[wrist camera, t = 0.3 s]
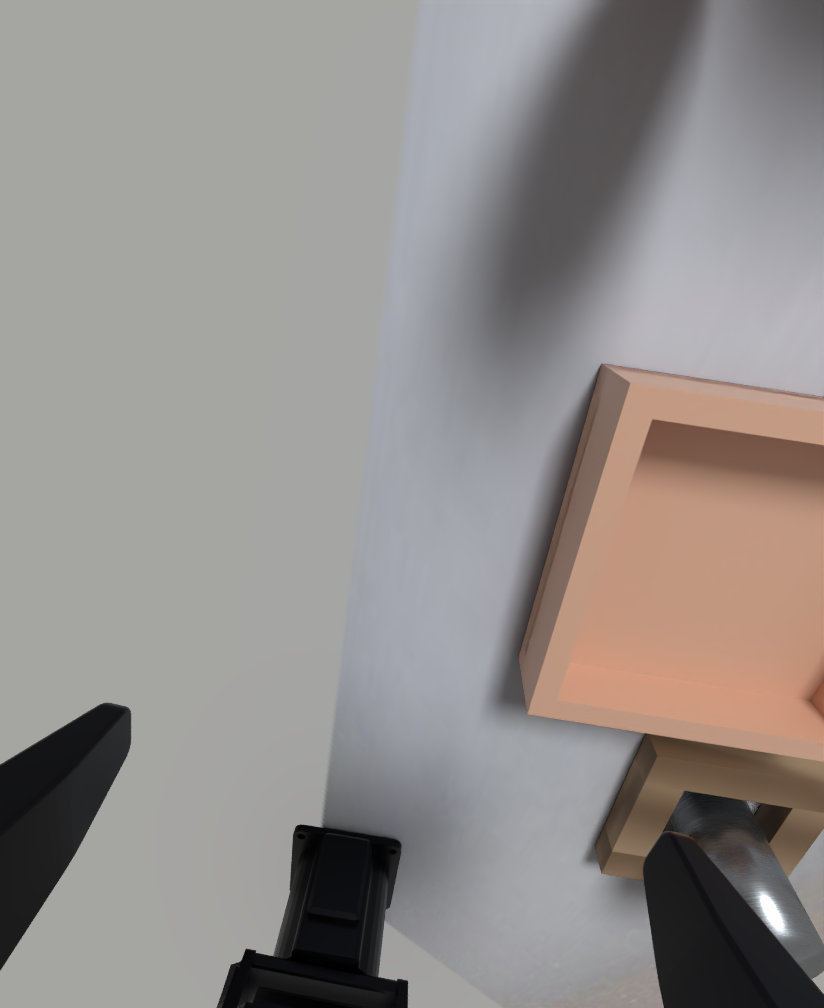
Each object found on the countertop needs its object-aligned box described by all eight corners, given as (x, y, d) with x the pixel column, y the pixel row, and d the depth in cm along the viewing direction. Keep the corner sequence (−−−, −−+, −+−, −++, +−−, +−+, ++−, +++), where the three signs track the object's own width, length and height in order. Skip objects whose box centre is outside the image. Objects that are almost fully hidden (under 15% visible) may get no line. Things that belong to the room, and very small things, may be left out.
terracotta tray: (809, 703, 25) (860, 767, 22) (518, 657, 25) (527, 714, 22) (983, 420, 19) (1088, 451, 16) (601, 363, 19) (630, 382, 16)
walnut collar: (756, 872, 30) (770, 901, 29) (594, 846, 30) (601, 873, 29) (833, 760, 26) (853, 787, 25) (647, 730, 26) (657, 756, 25)
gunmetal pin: (727, 835, 29) (803, 993, 23) (656, 823, 29) (711, 978, 23) (757, 787, 27) (847, 943, 21) (681, 775, 28) (748, 927, 21)
